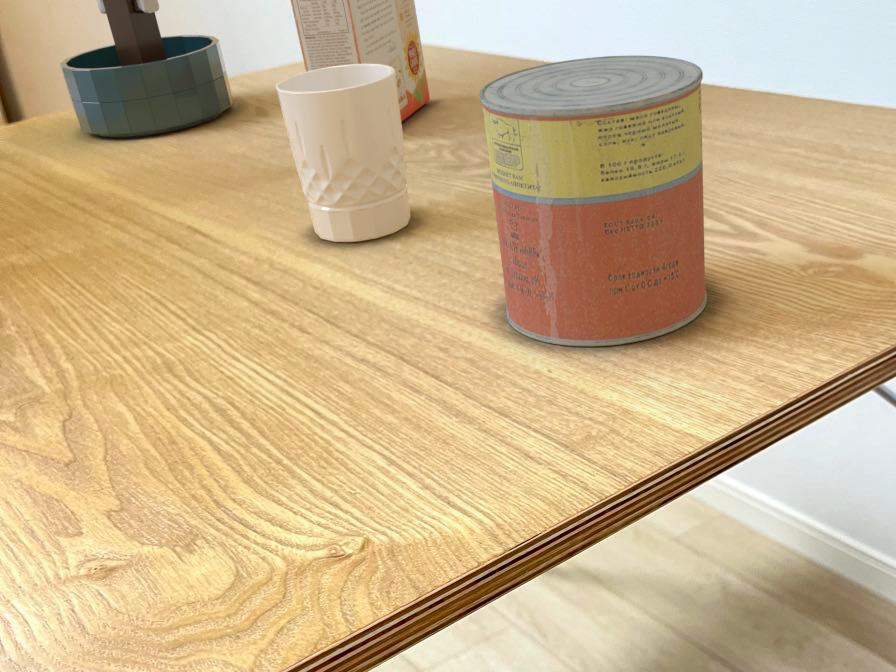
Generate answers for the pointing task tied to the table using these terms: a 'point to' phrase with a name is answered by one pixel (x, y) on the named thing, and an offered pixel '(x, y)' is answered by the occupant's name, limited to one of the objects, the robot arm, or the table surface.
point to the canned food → (599, 197)
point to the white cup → (348, 149)
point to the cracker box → (365, 41)
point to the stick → (134, 33)
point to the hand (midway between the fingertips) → (130, 12)
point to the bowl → (148, 88)
